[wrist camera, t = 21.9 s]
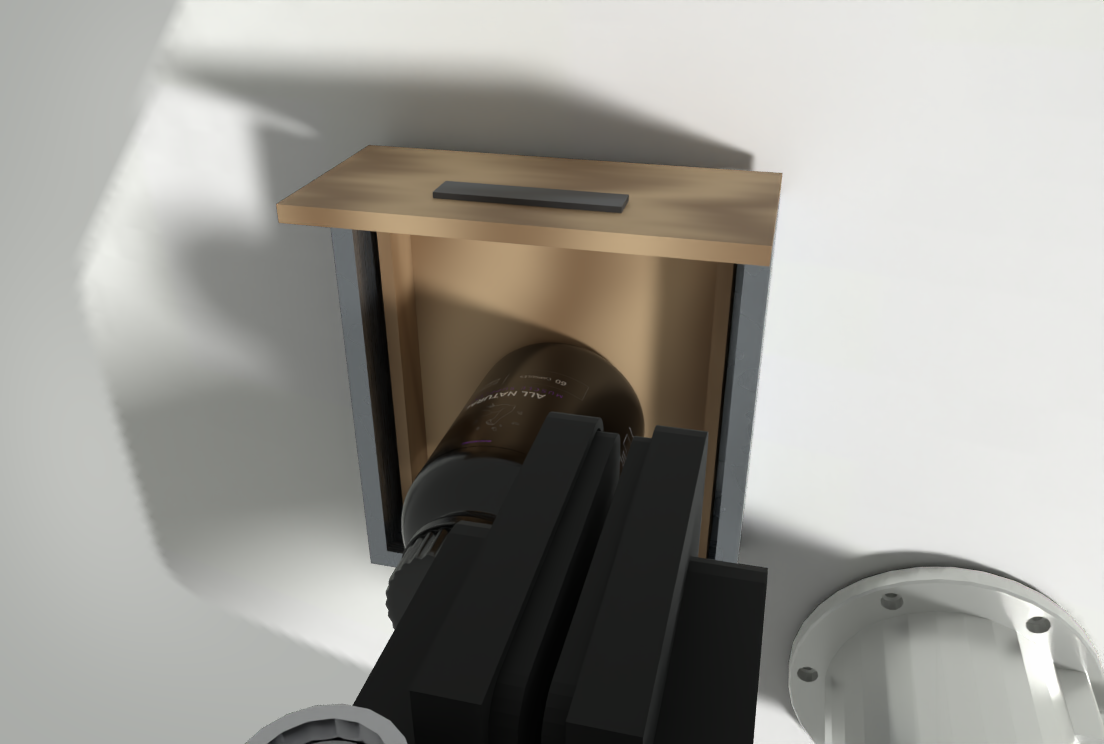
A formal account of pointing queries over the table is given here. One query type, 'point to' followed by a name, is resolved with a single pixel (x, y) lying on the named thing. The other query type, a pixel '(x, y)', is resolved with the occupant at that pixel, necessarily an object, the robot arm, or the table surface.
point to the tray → (550, 275)
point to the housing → (377, 411)
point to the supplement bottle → (503, 446)
